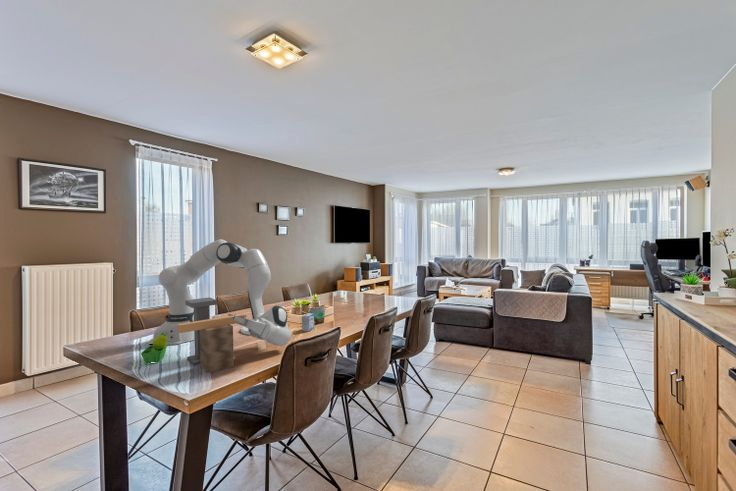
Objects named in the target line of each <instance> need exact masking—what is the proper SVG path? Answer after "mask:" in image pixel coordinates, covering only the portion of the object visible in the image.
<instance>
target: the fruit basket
mask: <svg viewBox="0 0 736 491" xmlns="http://www.w3.org/2000/svg"><path fill="white" fill-rule="evenodd" d="M167 348H168V345H167V336H166V334H161V335H160V336H159V337H157V338H156V339H155V340H154V341H153V345H148V346H147V347H146V348H145V349H144V350H142V352H140V355H141V356H142V359H143V362H144V364H145V363H151V362H159V361H160V360H161V361H162V360H163V358H164V357H165V354H166V351H167ZM159 363H160V362H159Z"/></svg>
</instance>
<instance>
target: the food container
mask: <svg viewBox="0 0 736 491" xmlns="http://www.w3.org/2000/svg"><path fill="white" fill-rule="evenodd" d="M308 310H309V311H308V312H309V313H313V314H314V325H321V324H324V323H325V315H326V314H325V312H326V310H327V309H326V306H325V305H324V304H321V305H320V306H316V307H309V309H308Z"/></svg>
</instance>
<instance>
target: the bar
mask: <svg viewBox="0 0 736 491" xmlns="http://www.w3.org/2000/svg"><path fill="white" fill-rule="evenodd" d="M234 316H237V317H240V318H243V319H244V317H245V318H247V314H245V313H241V314H240V313H239V314H238V315H234V314H232V316H228V315H226V316H221V317H215V318H210V319H207V320H200V321H194V322H187V323H181V324H177V332H178V333H184V332H190V331H196V330H201V329H207V328H213V327H219V326H225V325H235V324H237V323H239V322H237V321H235V320H233V318H234Z"/></svg>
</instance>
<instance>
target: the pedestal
mask: <svg viewBox="0 0 736 491" xmlns="http://www.w3.org/2000/svg"><path fill="white" fill-rule="evenodd" d="M199 332H200V365H199V366H200V367H201V368H202V369H204V370H205V371H206V372H207V373H208V374H210V373H212V372H217V371H221V370H224V369H229V368H232V367H235V355H234V353H235V352H234V326H233V324H230V325H225V326H219V327H213V328H207V329H201V330H199Z"/></svg>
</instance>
